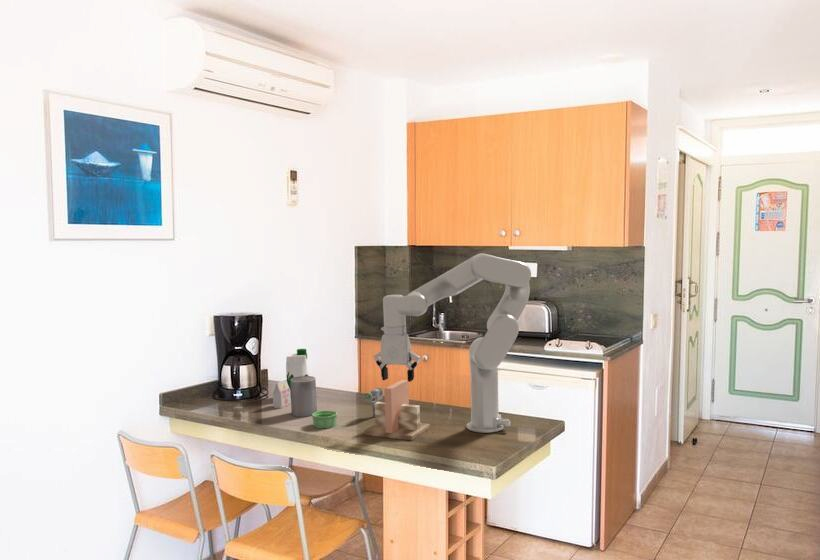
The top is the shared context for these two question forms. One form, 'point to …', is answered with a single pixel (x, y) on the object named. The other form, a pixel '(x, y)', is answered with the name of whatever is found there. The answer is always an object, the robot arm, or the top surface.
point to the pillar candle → (303, 396)
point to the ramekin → (324, 419)
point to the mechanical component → (374, 397)
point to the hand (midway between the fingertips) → (397, 380)
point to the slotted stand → (406, 423)
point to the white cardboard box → (281, 395)
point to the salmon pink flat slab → (395, 404)
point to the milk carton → (296, 365)
